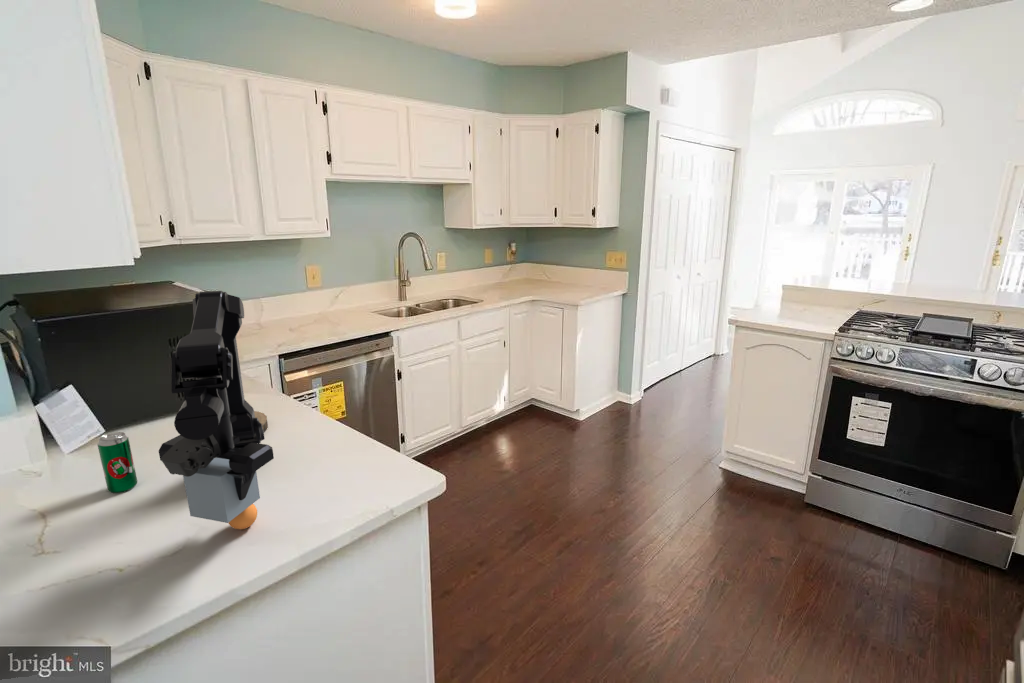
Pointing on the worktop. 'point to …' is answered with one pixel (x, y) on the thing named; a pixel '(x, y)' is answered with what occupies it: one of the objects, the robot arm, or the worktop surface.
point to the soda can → (117, 462)
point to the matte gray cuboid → (217, 492)
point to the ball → (245, 518)
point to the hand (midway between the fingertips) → (223, 495)
